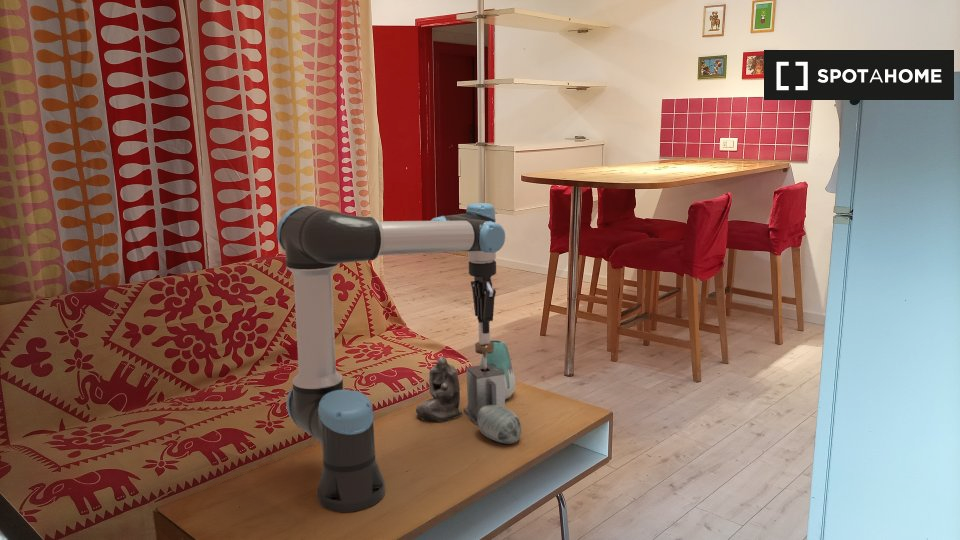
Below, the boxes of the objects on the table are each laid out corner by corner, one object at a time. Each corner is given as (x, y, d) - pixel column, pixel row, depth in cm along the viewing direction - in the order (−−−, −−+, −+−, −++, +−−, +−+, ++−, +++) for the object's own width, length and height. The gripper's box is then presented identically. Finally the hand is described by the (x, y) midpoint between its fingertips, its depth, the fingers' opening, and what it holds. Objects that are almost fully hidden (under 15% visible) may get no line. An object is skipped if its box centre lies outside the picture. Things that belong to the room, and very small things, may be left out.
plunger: (479, 392, 200) (478, 348, 197) (472, 385, 205) (471, 342, 203) (498, 389, 202) (497, 345, 199) (491, 382, 207) (490, 339, 205)
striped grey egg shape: (534, 430, 188) (514, 400, 186) (509, 455, 184) (488, 425, 182) (508, 423, 200) (489, 395, 198) (484, 446, 196) (464, 418, 194)
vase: (498, 386, 226) (496, 331, 223) (523, 397, 218) (522, 340, 214) (469, 396, 219) (467, 340, 215) (494, 407, 211) (493, 349, 207)
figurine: (416, 424, 201) (413, 363, 197) (415, 407, 212) (413, 349, 208) (463, 421, 202) (461, 360, 198) (460, 405, 213) (458, 346, 209)
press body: (478, 427, 198) (476, 380, 195) (463, 411, 208) (462, 366, 206) (511, 420, 201) (510, 374, 198) (495, 405, 212) (494, 361, 209)
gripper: (504, 263, 191) (506, 348, 196) (486, 254, 203) (488, 335, 208) (477, 266, 189) (480, 352, 194) (461, 257, 200) (463, 338, 206)
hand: (484, 343), depth 201 cm, fingers closed
